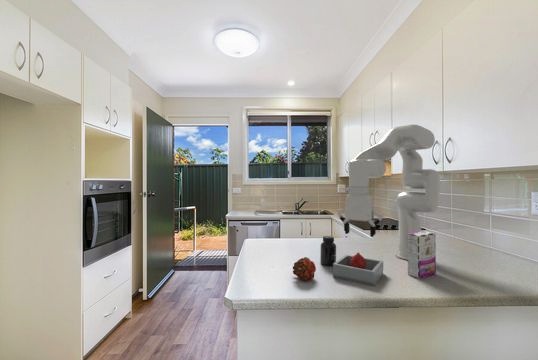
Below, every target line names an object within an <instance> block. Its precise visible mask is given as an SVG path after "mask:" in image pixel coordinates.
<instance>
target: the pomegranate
mask: <svg viewBox="0 0 538 360" xmlns="http://www.w3.org/2000/svg"><path fill="white" fill-rule="evenodd" d="M352 256H353V257H352V259H351V266H352V267H355V268H360V269H365V267H366V261H365V259H364V258H365V257H364V256H362V254H361V253H360V252H357V253H356V254H354V255H352Z"/></svg>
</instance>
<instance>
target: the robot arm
mask: <svg viewBox="0 0 538 360" xmlns="http://www.w3.org/2000/svg"><path fill="white" fill-rule="evenodd" d="M435 142H436V139H435V135H434V133H433V132H432V131H431V130H430V129H428V128H426V127H424V126H421V125H420V124H409V125H408V124H407V125H406V124H405V125H402V126H401V125H400V126H396V127H393V128H391V129H390V130H389V131H387V133H386V134H385V135H384V136H383V137H382V138H381V140H380V141H379V142H378V143H376V144H374V145H372V146H371V147H368V148H367V149H365V150H363V151H361V152H360V153H359V154H357V155H356V157H355V158H354V159H352V160H350V161H349V163H348V187H347V188H346V187H345V192H348V194H346V197H345V204H344V205H345V206H344V209H341V210H340V211H338V212H337V215H338V217H339V220H340V221H341V222H342V223H343V229H344V232H345V234H346V235H347V234H349V233H350V221H354V222H355V221H357V222H368V223H369V224H370V228H369V229H370V230H369V231H370V232H369V235H370V238H373V237H375V235H376V233H377V232H376V229H377V227H376V226H377V225H378V224H379V223H381V221H382V219H383V218H384V215H383V214H382V213H380V212H378V211H377V210H375V209H374V204H373V203H374V202H373V198H372V194H370V179H379V178H381V177H383V176H384V175H385V174H386V172H387V166H386V164H385V162H384V161H387V160H389V159H392V158H394V156H395V155H396V154H397V153H399V154H400V156H401V158H402V170H401V171H402V173H401V185H402V187H403V188H405V189H408V190H409V189H410V190H424V191H425V192H419V191H403V192H400V193H398V195H397V197H396V205H397V206H396V207H397V212H398V251H395V252H394V256H395V257H396V258H398V259H402V260H406V261H408V235H407V234H410V233H416V232H422V221H421V218H420V216H419V215H418V213H422V214H435V213H436V212H437V211H438V209H439V205H440V204H439V203H440V202H439V201H440V187H441V179H440V175H439V172H438V171H437V170H435V169H433V168H432V169H430V168H429V169H428V168H427V169H425V168H424V169H423V160H424V159H423V157H422V156H421V155H420V153H418V152H417V151H419V150H428V149H431V148H433V146H434V145H435ZM343 214H344V215H343ZM374 216H376V217H377V218H376V220H374Z"/></svg>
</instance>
